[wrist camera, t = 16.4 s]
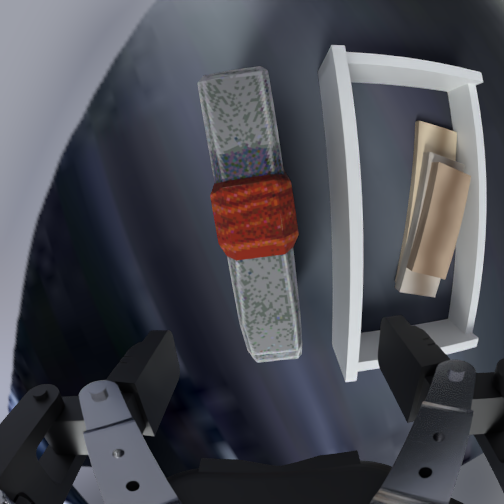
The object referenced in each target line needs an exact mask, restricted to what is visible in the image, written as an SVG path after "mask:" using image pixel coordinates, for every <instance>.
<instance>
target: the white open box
mask: <svg viewBox="0 0 504 504" xmlns="http://www.w3.org/2000/svg"><path fill="white" fill-rule="evenodd" d="M318 79H319V87H320V95H321V103H322V112H323V121H324V130H325V141H326V152H327V164H328V177H329V192H330V210H331V232H332V270H333V321H332V346H333V349H334V351H335V354H336V357H337V360H338V363H339V365H340V368H341V371H342V374H343V377H344V380H345V382H350V381H357V372H358V371H364V370H371V369H377V368H380V367H379V364H378V346H379V337H380V330H378V331H371V332H363V333H361V319H362V297H363V210H362V188H361V172H360V158H359V146H358V136H357V126H356V117H355V109H354V101H353V93H352V86H351V82H354V83H374V84H388V85H400V86H409V87H418V88H426V89H433V90H440V91H446V92H448V98H449V104H450V111H451V118H452V126H453V131H454V132H457V144H456V162H459V163H461V164H464V165H465V167H464V173H465V174H468V175H470V176H471V180H470V186H469V191H468V196H467V201H466V205H465V210H464V214H463V218H462V223H461V227H460V231H459V234H458V238H457V242H456V253H455V266H454V277H453V286H452V294H451V302H450V309H449V315H448V319H444V320H439V321H434V322H428V323H423V324H417V325H415V326H417V327H419V328H421V329H423V330H424V331H425V332H426V333H427V334H428V335H429V336H430V337H431V339H433V340H434V342H435V343H436V344H437V345H438V346H439V347H440V348H441V349H442V351H443V352H444V353H445V354H450V353H454V352H458V351H462V350H466V349H470V348H473V347H477V342H478V337H477V336H475V335H474V334H473V333H472V331H473V326H474V321H475V316H476V311H477V305H478V299H479V292H480V285H481V278H482V269H483V260H484V248H485V233H486V167H485V152H484V140H483V131H482V123H481V115H480V108H479V102H478V96H477V91H476V85H477V84H480V83H483V79H482V74H481V72H477V71H473V70H469V69H465V68H461V67H456V66H452V65H447V64H442V63H437V62H432V61H426V60H420V59H413V58H406V57H399V56H390V55H381V54H369V53H355V52H346V50H345V45H331V47H330V49H329V51H328V53H327V55H326V57H325V59H324V61H323V63H322V64H321V66H320V68H319V70H318ZM411 326H413V325H411Z"/></svg>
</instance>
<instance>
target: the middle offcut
mask: <svg viewBox="0 0 504 504" xmlns="http://www.w3.org/2000/svg"><path fill="white" fill-rule="evenodd" d="M432 162H440V163H443V164H445V165H447V166H450V167H452V168H454V169H457V170H459V171H461V172H463V173H464V167H465V165H464V164H461V163H459V162H456V161H453V160H451V159H448V158H445V157H443V156H440V155H437V154H435V153H432V152H423V158H422V164H421V171H420V177H419V183H418V189H417V195H416V200H415V205H414V210H413V215H412V220H411V225H410V229H409V233H408V238H407V242H406V246H405V250H404V254H403V258H402V262H401V266H400V270H399V273H398V277H397V280H396V284H395V288H396V289H397V290H398V291H399V292H402V293H409V294H416V295H422V296H429V297H435V296H436V293H437V289H438V286H439V283H440V280H441V278H437V277H433V276H429V275H425V274H421V273H417V272H412V271H411V270H409V269H408V268H406V266H407V263H408V259H409V256H410V253H411V249H412V246H413V242H414V238H415V235H416V231H417V227H418V223H419V219H420V215H421V211H422V207H423V203H424V198H425V194H426V189H427V185H428V180H429V175H430V169H431V164H432Z"/></svg>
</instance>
